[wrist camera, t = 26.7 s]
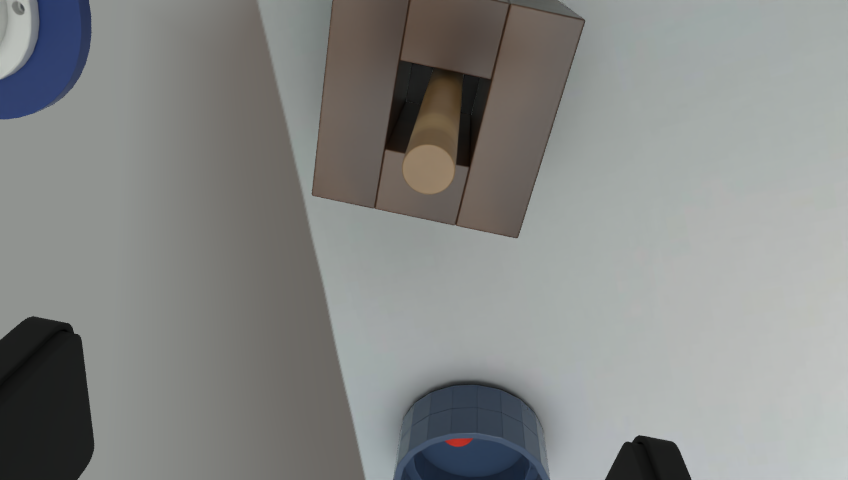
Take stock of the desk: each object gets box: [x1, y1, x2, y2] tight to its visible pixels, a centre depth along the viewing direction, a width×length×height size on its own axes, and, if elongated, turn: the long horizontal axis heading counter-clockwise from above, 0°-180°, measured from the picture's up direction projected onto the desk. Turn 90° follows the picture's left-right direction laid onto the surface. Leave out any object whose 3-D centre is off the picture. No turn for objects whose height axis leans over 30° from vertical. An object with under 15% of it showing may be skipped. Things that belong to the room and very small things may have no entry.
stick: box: [402, 68, 464, 194], centre depth 28 cm, size 2×2×20 cm
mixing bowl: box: [393, 385, 550, 480], centre depth 49 cm, size 13×13×6 cm
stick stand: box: [312, 0, 585, 238], centre depth 33 cm, size 12×12×10 cm
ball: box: [445, 438, 473, 447], centre depth 48 cm, size 3×3×3 cm
